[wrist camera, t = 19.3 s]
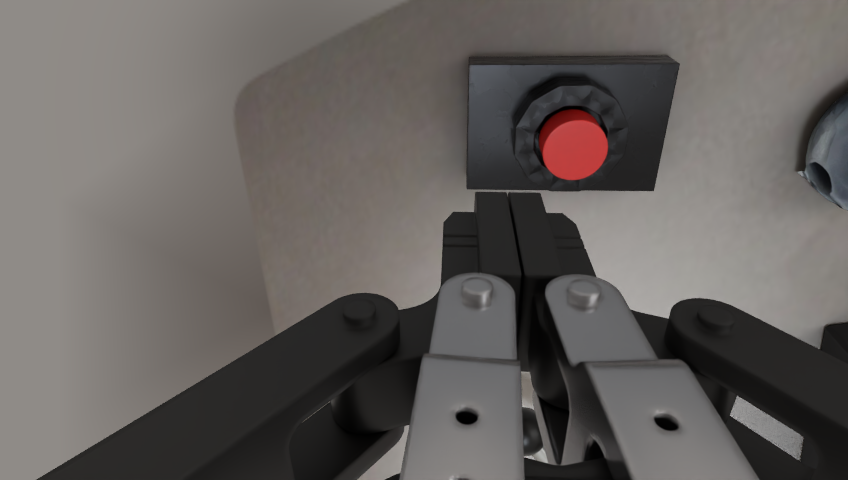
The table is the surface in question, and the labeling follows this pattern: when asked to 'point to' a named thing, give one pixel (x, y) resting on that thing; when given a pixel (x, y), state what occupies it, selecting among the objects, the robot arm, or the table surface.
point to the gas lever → (532, 436)
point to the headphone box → (844, 346)
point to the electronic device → (830, 154)
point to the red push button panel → (557, 91)
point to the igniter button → (573, 144)
